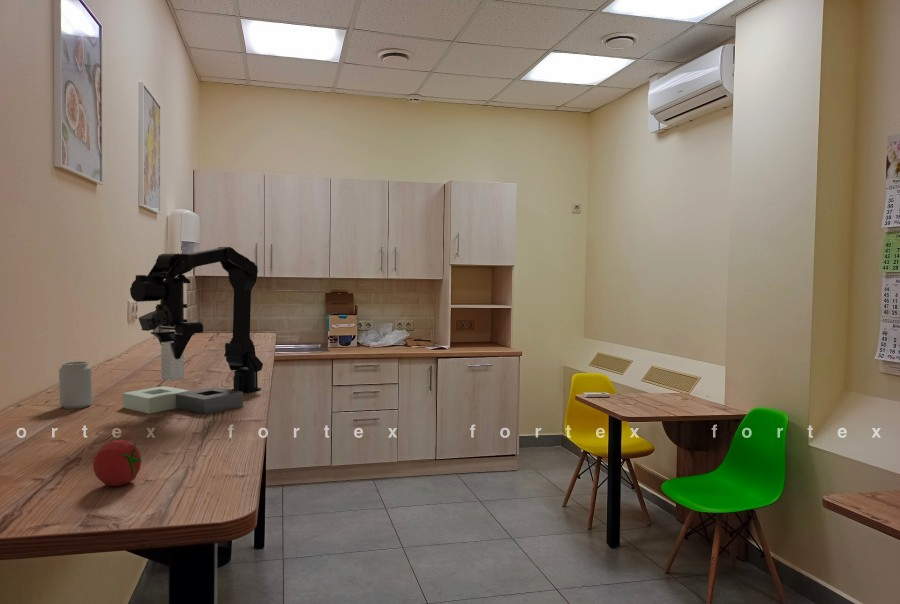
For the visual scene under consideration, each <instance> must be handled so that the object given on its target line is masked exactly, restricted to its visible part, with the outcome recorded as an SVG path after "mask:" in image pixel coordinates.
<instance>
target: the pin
mask: <svg viewBox="0 0 900 604" xmlns="http://www.w3.org/2000/svg"><path fill="white" fill-rule="evenodd" d="M160 355H161V356H160V357H161V358H160V359H161V361H160V363H161V364H160V365H161V369H160V370H161V380H163V381H169V382H170V381H177V380H184V379H185V350H184V351H183V353H182V355H181V357H180V359H176V358H175V352H174V342H173V341H168V342H161V344H160Z"/></svg>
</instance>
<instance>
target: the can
mask: <svg viewBox="0 0 900 604" xmlns="http://www.w3.org/2000/svg"><path fill="white" fill-rule="evenodd" d="M61 365H62V366H60V368H59V370H58V375H59V376H58V380H59V381H58V383H59V385H58V386H59V406H61V407H63V408H64V409H65V410H66V409H67V410H74V409H82V408H87V407H89V406H90V404H92V403H93V379H92V377H93V376H92V375H93V374H92V373H93V372H92V366H90V365H89V361H80V360H79V361H68V362H62V364H61Z"/></svg>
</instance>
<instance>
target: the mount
mask: <svg viewBox="0 0 900 604" xmlns="http://www.w3.org/2000/svg"><path fill="white" fill-rule="evenodd" d="M189 391H190V392H185V393H180V394H176V408H175V410H179V411H183V412H187V413H189V412H190V413H193V414H199V415H201V416H202V415H204V416H206V415H211V414H215V413H220V412H223V411H229V410H234V409H238V408H241V407H244V395H243V394H244V393H243V392H241V391H235V390H231V389H228V388H223V387H216V386H213V387H207V388H202V389H201V388H200V389H197V390H196V389H195V390H192V391H191V390H189Z"/></svg>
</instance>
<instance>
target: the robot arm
mask: <svg viewBox="0 0 900 604" xmlns="http://www.w3.org/2000/svg"><path fill="white" fill-rule="evenodd" d="M215 263H220V264H221V267H222V269H223V270H224V271H225V272H227V274H228V281H229V283H230V286H231V287H232V289H233V314H232V315H233V316H232V318H233V319H232V337H231V339H230V341H229V342H225V345H224V351H225V352H224V356H223V357H225V360H226V362H227V363H228V367H229V370H230V371H234V376H232V377H233V381H232V382H233V388H231V389H230V390H235V391H241V392H243V394H244V393H251V392H256V391H260V390H262V387H258V385H259V384H258V382H259V381H258V377H259V376H258V373H259V372H260V371H262V369H263V365H264V363H263V362H262V361H261V360H260V359H259V358H258V357H257V356H256V355H257V353H256V348H255V344H254V342H253V340H252V338H251V311H252V310H251V308H252V307H251V305H252V304H251V302H252V301H251V299H252V290H253V288H254V286H255V284H256V283H257V280H258V272H259V271H258V270H259V268H258V266H257V265H256V263H255V262H254V261H252V260H250V259H249V258H248V257H246V256H244V255H243V254H241V253H239V252H238V251H236V249H234V248H233V247H231V246H218V247H217V248H211V249H207V250H201V251H194V252H190V253H161V254H159V255H158V256H157V258H156V260H155V263H154V264H153V266H152V268H151V269H150V271H149V273H147V275H145V274H136V275H135V280H133V281H132V283H131V286H130V288H129V292H130V297H131V298H132V300H133V301H135V302H136V303H140V302H141V303H143V302H160V303H159V304H158V303H157V304H156V305H155V310H154V311H151V312H148V313H146V314H143V315H141V316H139V317H137V318H138V322H139V325H140V327H141V331H145V332H146V331H147V332H148V331H149V332H150V331H151V332H150V334H151V335H153V336H154V337H155V338H157V339H158V342H159V344H160V345H161V342H168V341H173V342H174V352H175V358H176V359H180V357H181V355H182V353H183V351H184V352H185V349H186V348H187V345H188V344H189V341H190V340H191V338H192V336H195V334H202V333H204V324H203V323H202V322H201V321H188V319H186V318H185V317H184V316H185V314H184V311H185V310H184V309H187V308H188V304H187V303H185V301H184V284H191V280H190V279H189V278H188V277H186V275H185V274H186V273H189V272H191V271H192V270H193V269H195V268H197V267H202V266H207V265H210V264H215Z"/></svg>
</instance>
